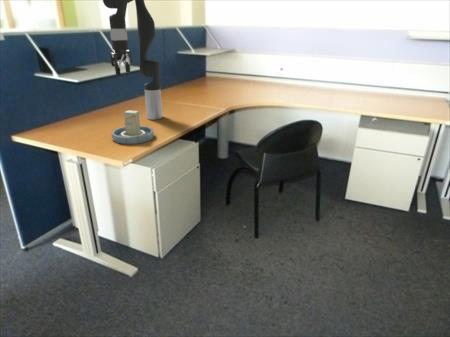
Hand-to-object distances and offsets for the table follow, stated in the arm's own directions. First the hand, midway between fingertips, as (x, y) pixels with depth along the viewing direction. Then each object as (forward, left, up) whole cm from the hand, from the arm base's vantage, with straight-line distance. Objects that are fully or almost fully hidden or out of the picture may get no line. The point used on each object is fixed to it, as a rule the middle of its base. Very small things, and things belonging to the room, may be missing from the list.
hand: (123, 73), depth 170 cm
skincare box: (+7, +7, -29) cm, 31 cm away
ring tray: (+7, +7, -30) cm, 32 cm away
